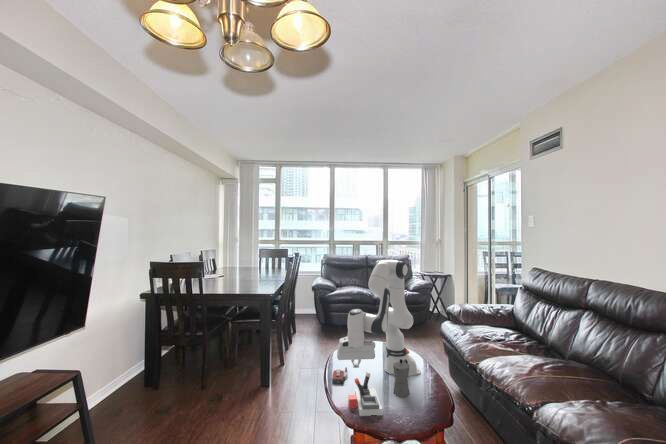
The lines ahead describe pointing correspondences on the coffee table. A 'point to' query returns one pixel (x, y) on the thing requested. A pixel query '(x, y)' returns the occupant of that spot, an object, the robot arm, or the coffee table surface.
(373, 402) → the white compartment tray
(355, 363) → the robot arm
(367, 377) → the lever plain
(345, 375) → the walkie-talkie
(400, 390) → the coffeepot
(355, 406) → the lockout cap
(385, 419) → the coffee table surface
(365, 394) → the lever tagged
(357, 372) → the coffee table surface
